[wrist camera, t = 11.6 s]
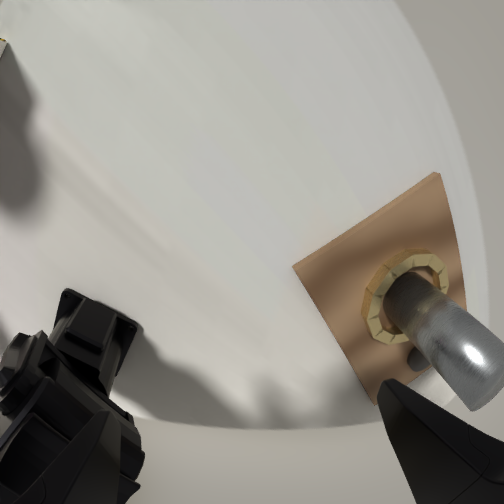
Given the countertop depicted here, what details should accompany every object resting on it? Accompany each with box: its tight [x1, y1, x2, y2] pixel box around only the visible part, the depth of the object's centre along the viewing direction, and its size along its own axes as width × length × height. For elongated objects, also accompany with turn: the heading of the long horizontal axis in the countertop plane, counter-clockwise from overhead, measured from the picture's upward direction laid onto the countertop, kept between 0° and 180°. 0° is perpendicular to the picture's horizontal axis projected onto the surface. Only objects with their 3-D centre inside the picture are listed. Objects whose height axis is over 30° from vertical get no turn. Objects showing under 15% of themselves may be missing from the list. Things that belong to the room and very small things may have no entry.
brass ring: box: [361, 248, 449, 345], centre depth 23 cm, size 8×8×1 cm
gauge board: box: [292, 172, 467, 406], centre depth 24 cm, size 21×14×2 cm, turn 32°
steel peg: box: [383, 272, 504, 411], centre depth 18 cm, size 4×4×12 cm
